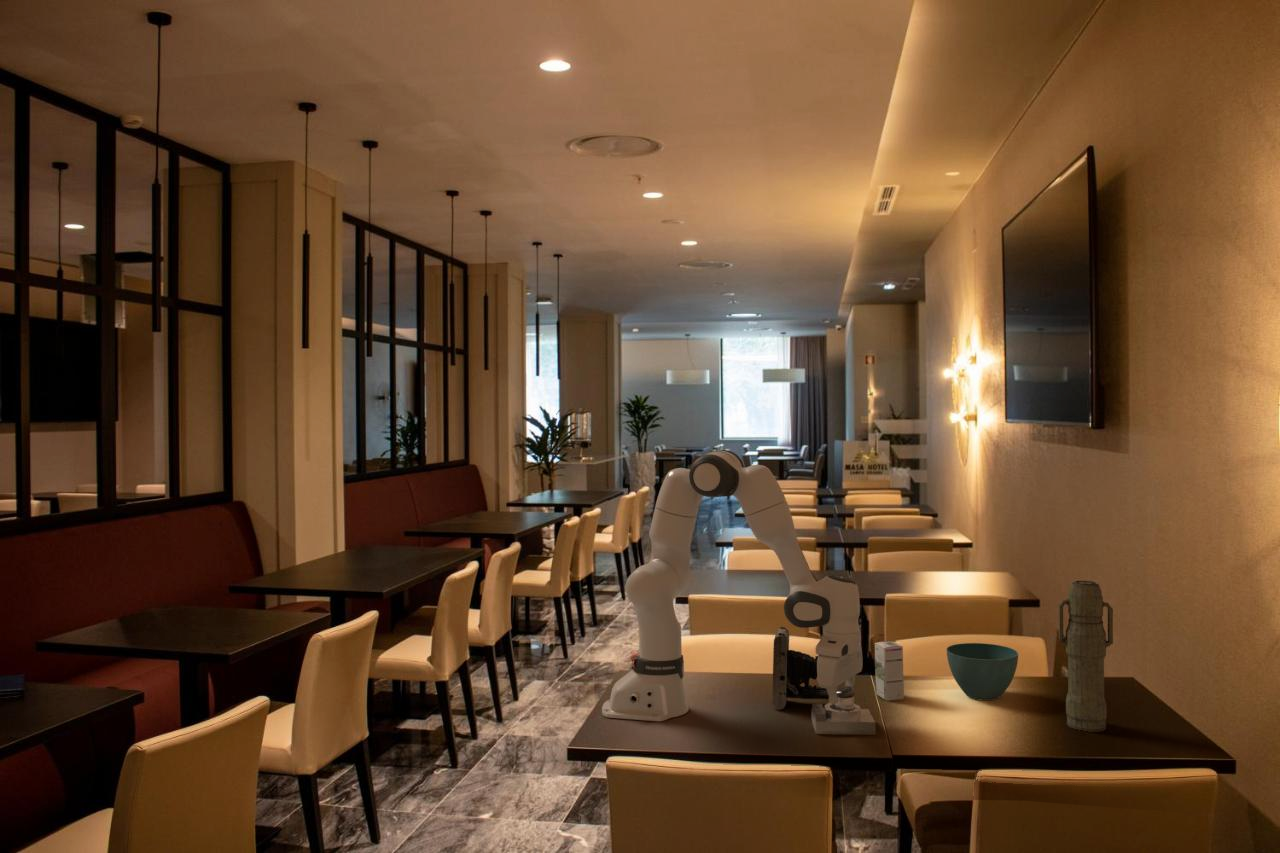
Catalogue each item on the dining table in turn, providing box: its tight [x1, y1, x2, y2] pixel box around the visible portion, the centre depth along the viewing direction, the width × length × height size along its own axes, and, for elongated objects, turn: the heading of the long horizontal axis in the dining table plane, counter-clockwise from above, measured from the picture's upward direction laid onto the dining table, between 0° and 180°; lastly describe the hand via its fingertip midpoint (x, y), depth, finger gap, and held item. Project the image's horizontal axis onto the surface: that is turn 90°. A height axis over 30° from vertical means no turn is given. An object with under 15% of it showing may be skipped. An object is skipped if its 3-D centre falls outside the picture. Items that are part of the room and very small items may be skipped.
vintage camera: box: [771, 626, 829, 711], centre depth 248 cm, size 10×16×20 cm, turn 78°
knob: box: [835, 687, 856, 711], centre depth 230 cm, size 5×5×6 cm
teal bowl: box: [946, 642, 1019, 701], centre depth 255 cm, size 18×18×12 cm
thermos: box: [1058, 580, 1114, 733], centre depth 229 cm, size 9×12×35 cm
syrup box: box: [874, 640, 905, 702], centre depth 254 cm, size 6×6×14 cm
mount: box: [810, 702, 876, 736], centre depth 231 cm, size 14×10×5 cm
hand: (841, 698), depth 231 cm, fingers open, 8 cm apart
